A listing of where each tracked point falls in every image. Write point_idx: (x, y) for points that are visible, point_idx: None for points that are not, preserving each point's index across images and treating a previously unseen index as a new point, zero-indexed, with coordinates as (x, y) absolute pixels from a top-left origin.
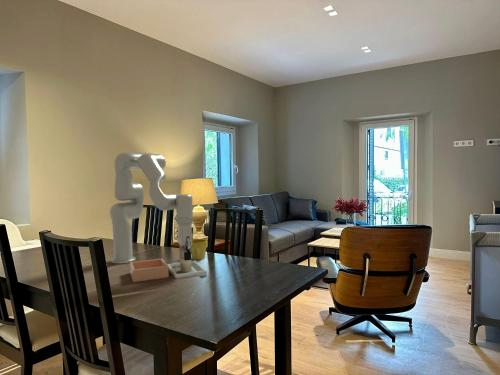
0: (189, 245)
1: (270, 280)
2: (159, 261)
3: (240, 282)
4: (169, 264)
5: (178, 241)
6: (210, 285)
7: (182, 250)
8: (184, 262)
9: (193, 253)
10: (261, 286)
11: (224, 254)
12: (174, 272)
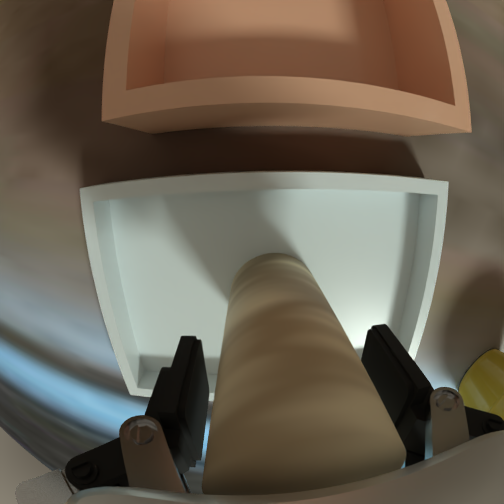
0: (26, 497)
1: None
2: (440, 96)
3: (52, 418)
4: (437, 197)
5: (469, 489)
6: (17, 332)
7: (220, 419)
8: (227, 321)
9: (496, 372)
10: (28, 428)
11: None
12: (151, 185)
